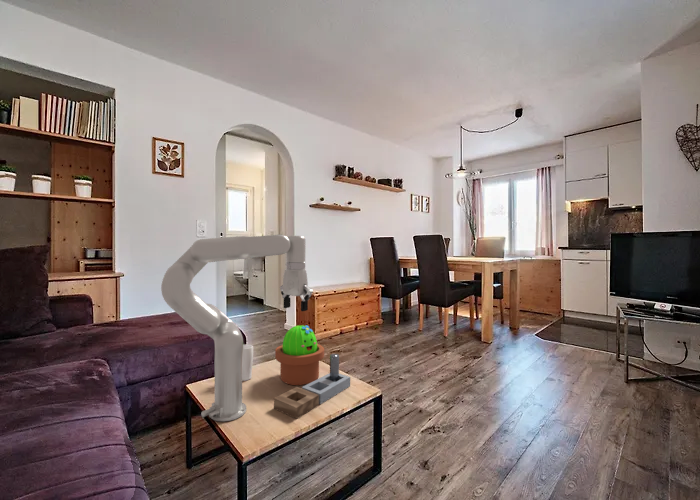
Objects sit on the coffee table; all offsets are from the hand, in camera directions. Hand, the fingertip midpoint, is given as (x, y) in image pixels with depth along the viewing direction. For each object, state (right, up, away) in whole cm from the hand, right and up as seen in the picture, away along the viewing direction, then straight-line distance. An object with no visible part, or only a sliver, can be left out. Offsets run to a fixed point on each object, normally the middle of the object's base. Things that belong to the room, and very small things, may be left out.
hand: (295, 309), depth 128 cm
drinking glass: (-26, -36, +19) cm, 49 cm away
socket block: (+1, -36, -6) cm, 37 cm away
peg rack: (+12, -36, +8) cm, 39 cm away
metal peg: (+15, -36, +12) cm, 41 cm away
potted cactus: (-2, -36, +21) cm, 42 cm away
